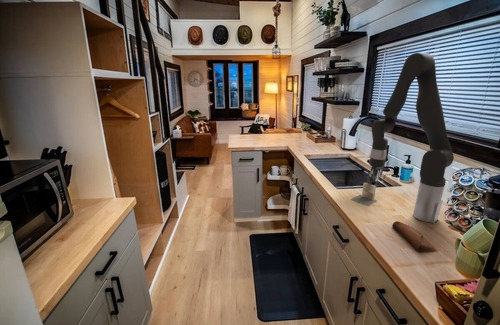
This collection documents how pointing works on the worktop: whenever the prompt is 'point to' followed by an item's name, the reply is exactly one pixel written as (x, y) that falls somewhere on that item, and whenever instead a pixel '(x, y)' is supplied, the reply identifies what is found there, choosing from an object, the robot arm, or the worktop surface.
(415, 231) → the sunglasses case
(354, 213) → the worktop surface
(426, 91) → the robot arm
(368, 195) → the tile
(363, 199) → the mat
